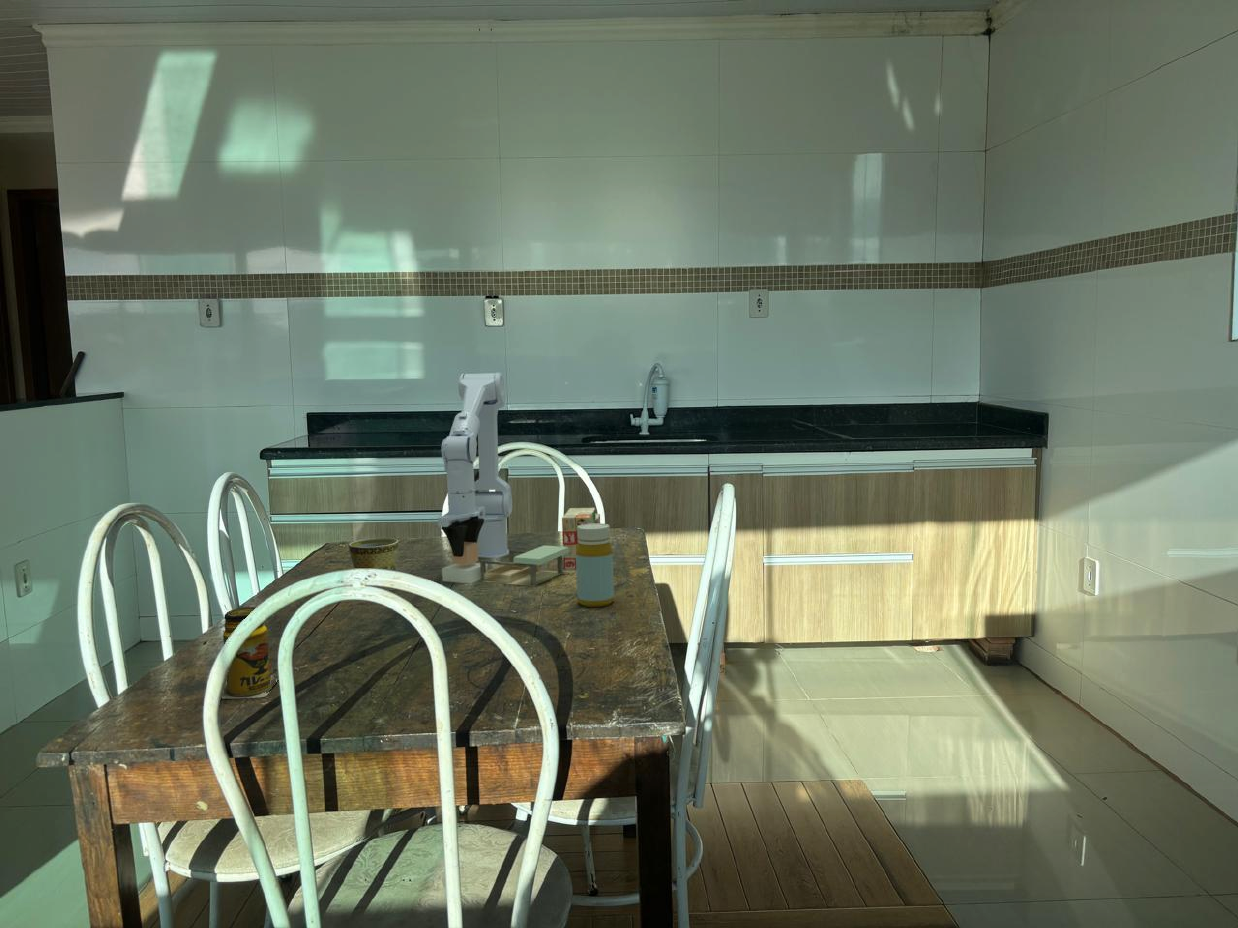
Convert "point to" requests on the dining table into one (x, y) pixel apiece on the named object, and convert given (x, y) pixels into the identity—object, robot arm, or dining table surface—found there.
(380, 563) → the ceramic cup
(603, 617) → the dining table surface
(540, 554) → the lid
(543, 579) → the grey frame
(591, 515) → the stack of blocks
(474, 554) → the block
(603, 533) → the bottle
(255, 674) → the condiment
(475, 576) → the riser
